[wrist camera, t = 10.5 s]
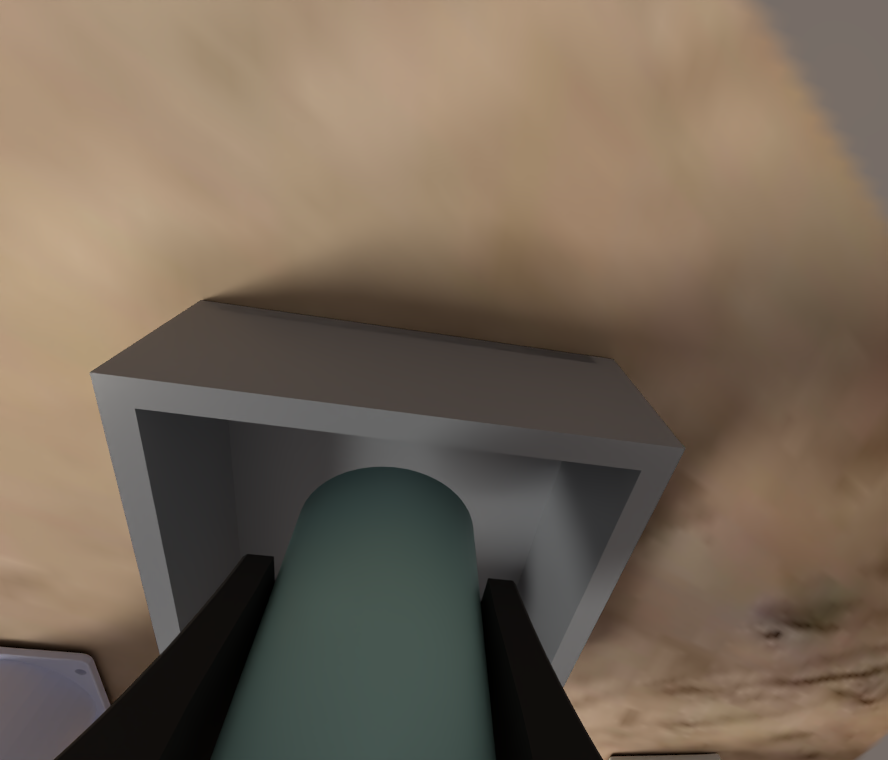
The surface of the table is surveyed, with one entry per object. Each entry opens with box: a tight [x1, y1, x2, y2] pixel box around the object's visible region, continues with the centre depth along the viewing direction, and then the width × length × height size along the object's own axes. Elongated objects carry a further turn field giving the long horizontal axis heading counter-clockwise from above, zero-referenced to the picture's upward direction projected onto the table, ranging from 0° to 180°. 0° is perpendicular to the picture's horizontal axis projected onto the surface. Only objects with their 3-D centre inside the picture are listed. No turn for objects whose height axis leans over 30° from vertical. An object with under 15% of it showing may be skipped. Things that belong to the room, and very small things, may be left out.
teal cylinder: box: [210, 467, 496, 760], centre depth 10 cm, size 5×5×7 cm
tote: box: [90, 300, 685, 687], centre depth 16 cm, size 18×14×5 cm
